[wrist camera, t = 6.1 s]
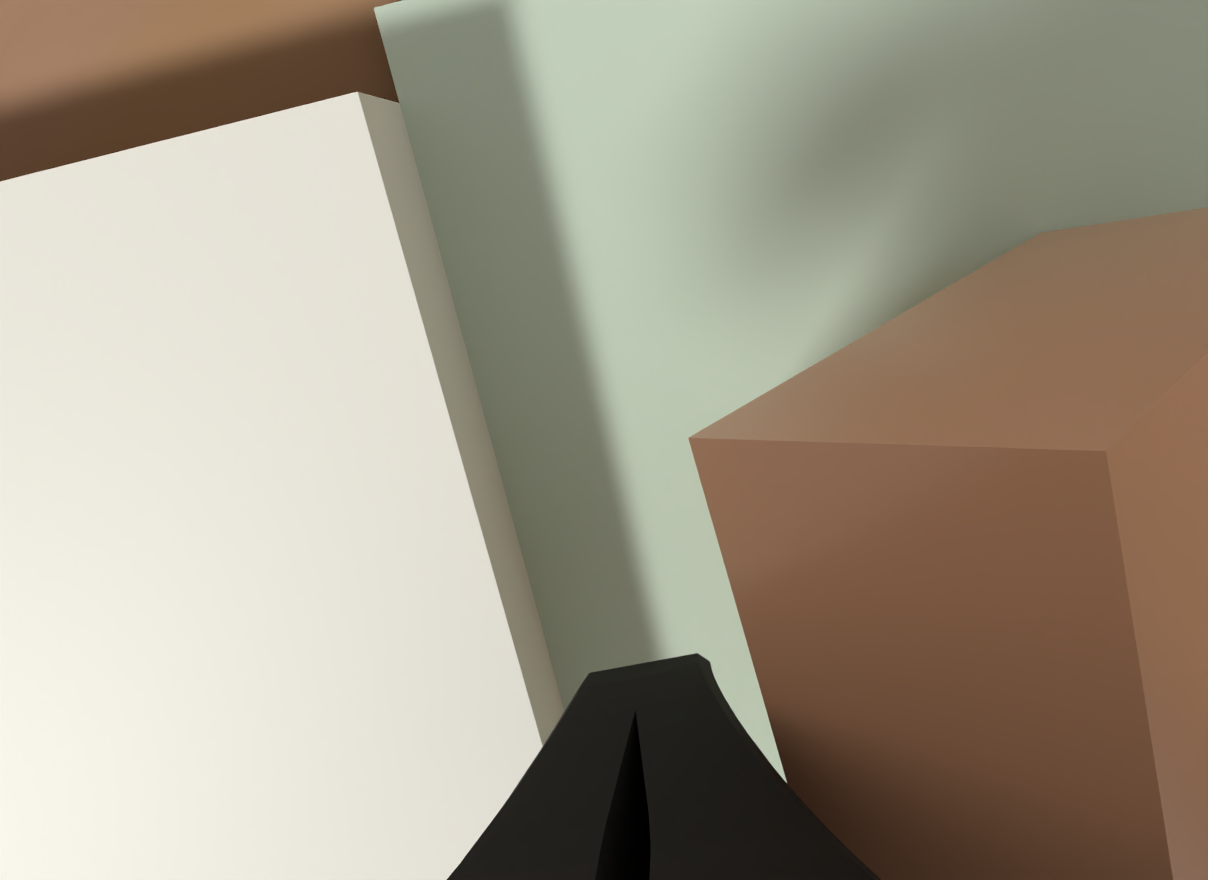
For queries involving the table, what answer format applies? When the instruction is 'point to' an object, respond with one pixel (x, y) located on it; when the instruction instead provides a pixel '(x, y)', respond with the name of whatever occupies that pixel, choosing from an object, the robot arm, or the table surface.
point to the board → (250, 519)
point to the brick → (992, 566)
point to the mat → (741, 236)
